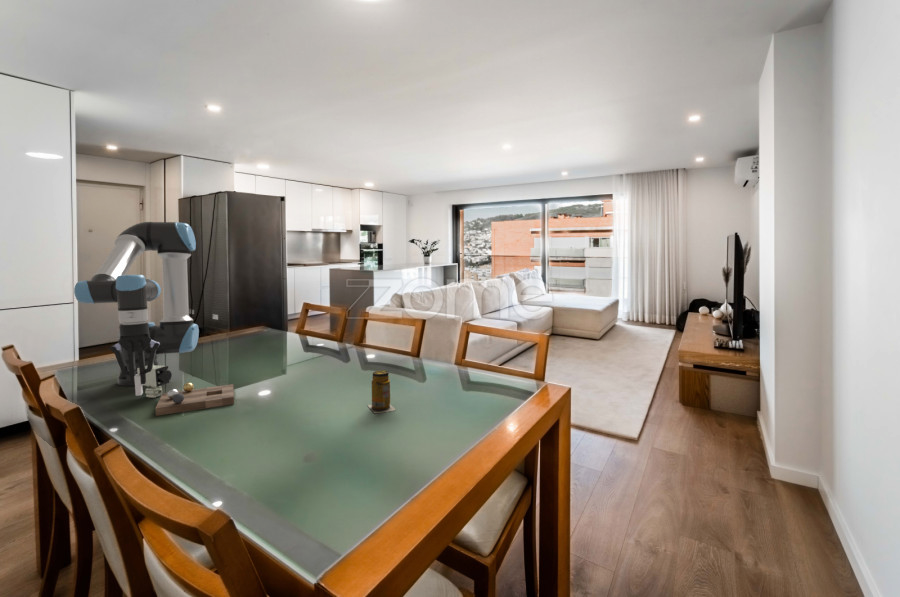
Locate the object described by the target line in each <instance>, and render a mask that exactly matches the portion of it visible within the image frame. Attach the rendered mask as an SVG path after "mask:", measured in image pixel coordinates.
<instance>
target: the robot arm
mask: <svg viewBox="0 0 900 597" xmlns="http://www.w3.org/2000/svg"><path fill="white" fill-rule="evenodd" d="M114 245H115V246H114V247H113V249H112V250H111V251H110V252H109V254H108V255H107V257H106V258H105V259H104V260H103V263H102V264H101V265H100V266H99V268H98V269H97V270H96V272H95V273H94V275H93V276H92V278H91V279H90V280H87V279H86V280H80V281H78V282H76V283H75V285H74V288H73V289H74V290H73V294H74V296H75V299H76V301H77V302H79V303H81V304H108V303H109V304H110V303H112V304H113V303H116V304H117V312H118V314H117V315H118V323H120V324H119V325H118V326H119V332H118V333H119V338H118V342H117V343H115V344H113V345H111V346H110V347H109V350H111V352H112V353H113V354H114V355H115V359H116V360H117V362H118V366H119V368H120V369H119V372H118V375H117V380H116V381H117V385H118V386H125V387H126V386H127V387H128V386H129V387H130V386H132V387H133V386H134V390H135V396H136V397H137V396H142V395H143V394H144V390H143V385H142V384H145V383H146V373H148V372H150V371H151V370H152V367H153V364H154V365H159V366H160V365H161V363H159V360H158V355H162V354H165V355H166V354H183V353H189V352H193V351H194V350H195V349H196V347H197V346H198V343H199V342H198V341H199V335H200V334H199V333H200V329H199V325H198V324H197V323H194V319H193V318H192V317H191V316H190V308H189V307H190V306H189V281H188V278H189V277H188V259H189V258H190V257H191V256H192V252H193V251H196V248H197V247H196V246H197V242H196V237H195V233H194V231H193V228H192V226H190V224H188V223H186V222H177V221H170V222H169V221H143V222H139V223H136V224H134V225H132V226H130V227H127V228H126V229H124V230H123V231H122V232H121V233H120V234H118V236H117V237H116V239H115V241H114ZM147 251H157V255H158V257H160V258H161V261H162V263H161V265H162V288H161V285H160V284H159V283H158V282H157V281H155V280H153V279H148V278H146V277H145V275H144V274H127V273H128V272H129V270H130V269H131V268H132V266H133V264H134V262H135V261H136V259H137V258H138V257H139V256H141V255H142V254H144V253H145V252H147ZM162 289H163V293H162V294H163V318H162V319H160V320H159V325H156V323H155V322H153V321H152V322H150V321H149V311H148V310H149V309H148V302H152V301H154V300H155V299H157V298H158V297H160V295H161V291H162ZM148 321H149V322H148ZM145 365H148V366H147V369H145ZM138 367H139V370H140V374H136V368H138Z"/></svg>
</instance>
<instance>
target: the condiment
mask: <svg viewBox="0 0 900 597" xmlns="http://www.w3.org/2000/svg"><path fill="white" fill-rule="evenodd" d="M389 374H390V373H389V371H387V370H383V369H382V370H375V371H373V373H372V380H371V404H367V406H368V408H369V409H370V410H371V412H372V413H373V414H382V413H389V412H393V411H396V408H395V407H394V406H392V405H391V380H390V379H389V378H390V377H389Z"/></svg>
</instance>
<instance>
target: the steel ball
mask: <svg viewBox="0 0 900 597" xmlns="http://www.w3.org/2000/svg"><path fill="white" fill-rule="evenodd" d="M166 393H167V396H168V397H169V398H170V399H172V398H173V396H174V395H175V394H177V393H179V392H178V390H177V389H176V388H172V389H170V390H168V392H166Z"/></svg>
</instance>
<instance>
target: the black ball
mask: <svg viewBox="0 0 900 597" xmlns="http://www.w3.org/2000/svg"><path fill="white" fill-rule="evenodd" d="M172 400H173V402H174V403H181V402H182V401H183V400H184V396H183V394H181V393H177V394H175V395H174V396H173V398H172Z"/></svg>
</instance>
